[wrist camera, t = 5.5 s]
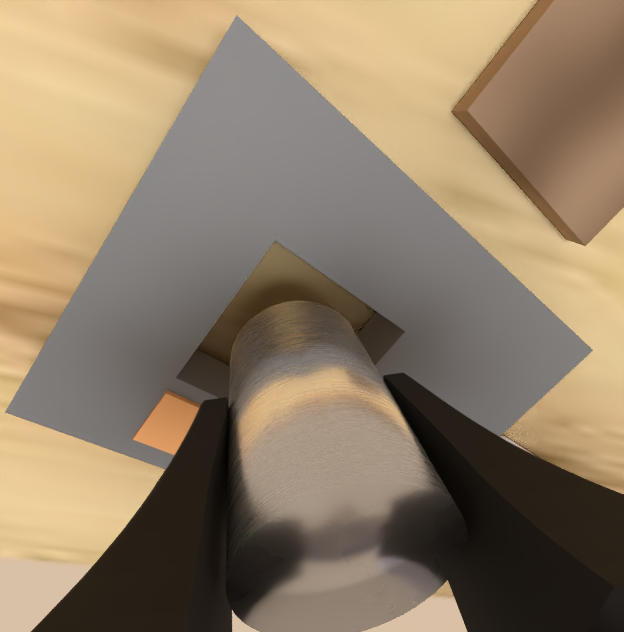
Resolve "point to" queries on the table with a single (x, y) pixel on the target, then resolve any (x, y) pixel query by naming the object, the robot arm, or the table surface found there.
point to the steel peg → (326, 483)
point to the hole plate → (301, 239)
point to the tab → (558, 112)
